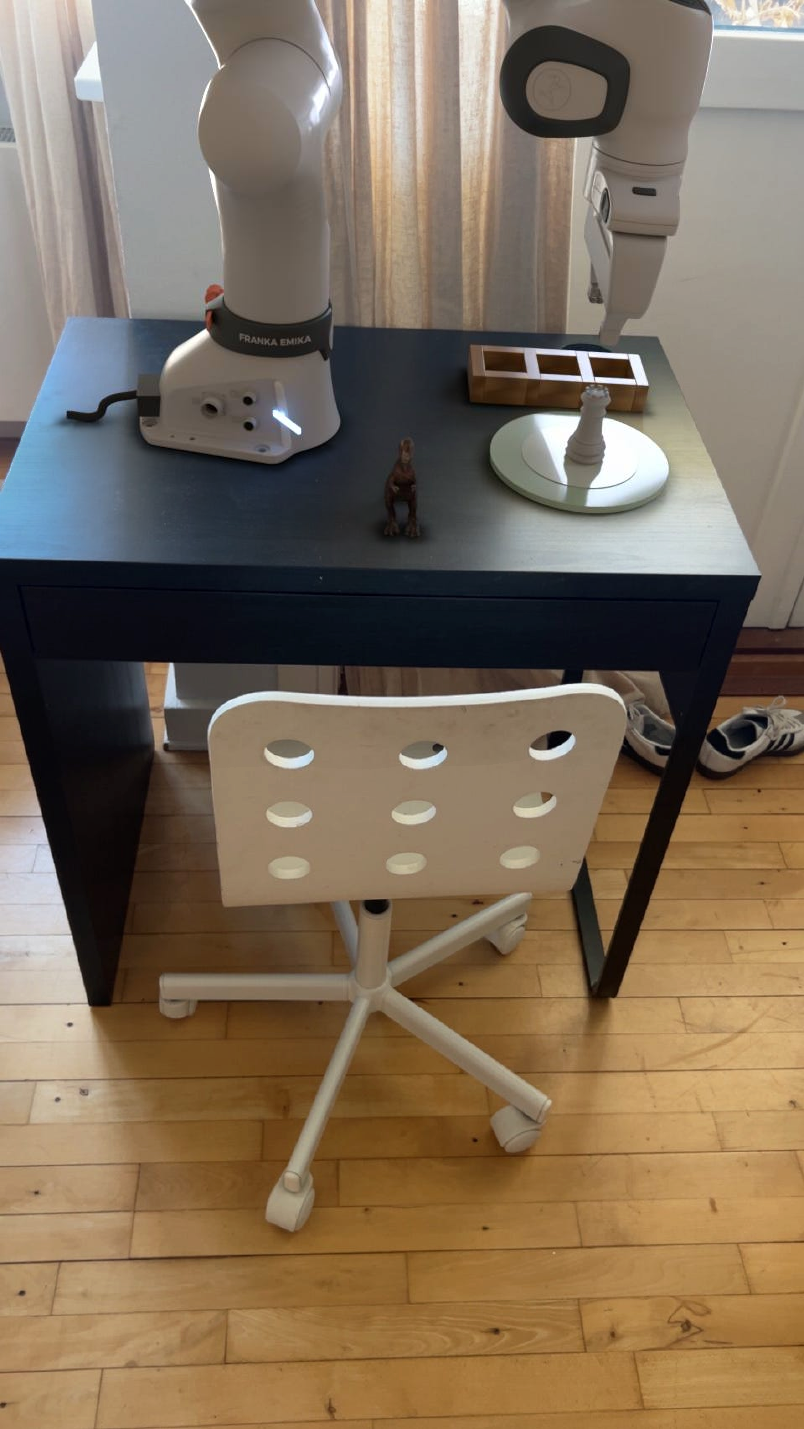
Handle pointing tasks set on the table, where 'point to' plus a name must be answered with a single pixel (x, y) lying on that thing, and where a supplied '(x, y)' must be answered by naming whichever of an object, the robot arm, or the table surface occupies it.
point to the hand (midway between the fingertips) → (601, 321)
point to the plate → (548, 476)
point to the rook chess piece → (589, 428)
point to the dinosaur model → (402, 490)
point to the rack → (554, 377)
